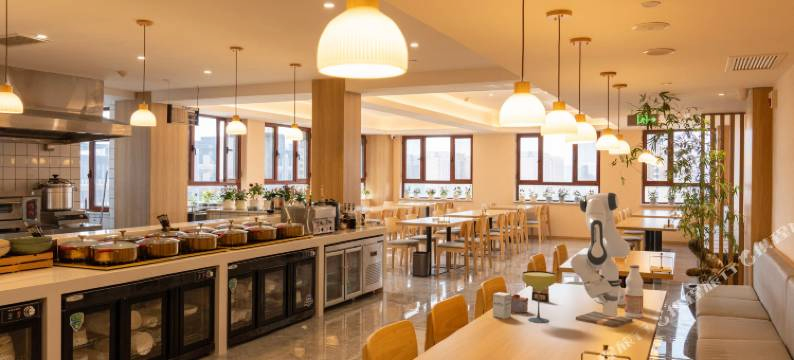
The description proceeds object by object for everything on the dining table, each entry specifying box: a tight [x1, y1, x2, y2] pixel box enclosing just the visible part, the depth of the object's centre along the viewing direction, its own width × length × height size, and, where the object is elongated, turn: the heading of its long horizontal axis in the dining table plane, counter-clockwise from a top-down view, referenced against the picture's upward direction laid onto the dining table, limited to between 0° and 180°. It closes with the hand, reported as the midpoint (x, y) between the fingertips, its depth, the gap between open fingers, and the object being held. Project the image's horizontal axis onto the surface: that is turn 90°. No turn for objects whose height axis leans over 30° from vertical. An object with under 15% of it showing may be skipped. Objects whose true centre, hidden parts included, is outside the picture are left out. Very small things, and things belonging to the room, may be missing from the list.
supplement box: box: [492, 291, 512, 320], centre depth 337 cm, size 7×7×13 cm
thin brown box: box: [531, 287, 550, 303], centre depth 380 cm, size 11×2×12 cm, turn 53°
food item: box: [511, 293, 529, 314], centre depth 350 cm, size 14×8×10 cm, turn 66°
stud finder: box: [602, 295, 618, 317], centre depth 328 cm, size 4×6×10 cm, turn 43°
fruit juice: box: [624, 264, 644, 319], centre depth 342 cm, size 9×9×28 cm
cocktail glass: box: [521, 270, 558, 324], centre depth 329 cm, size 18×18×25 cm
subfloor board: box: [575, 310, 633, 328], centre depth 331 cm, size 20×22×2 cm
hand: (608, 301), depth 329 cm, fingers closed on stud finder, 4 cm apart
